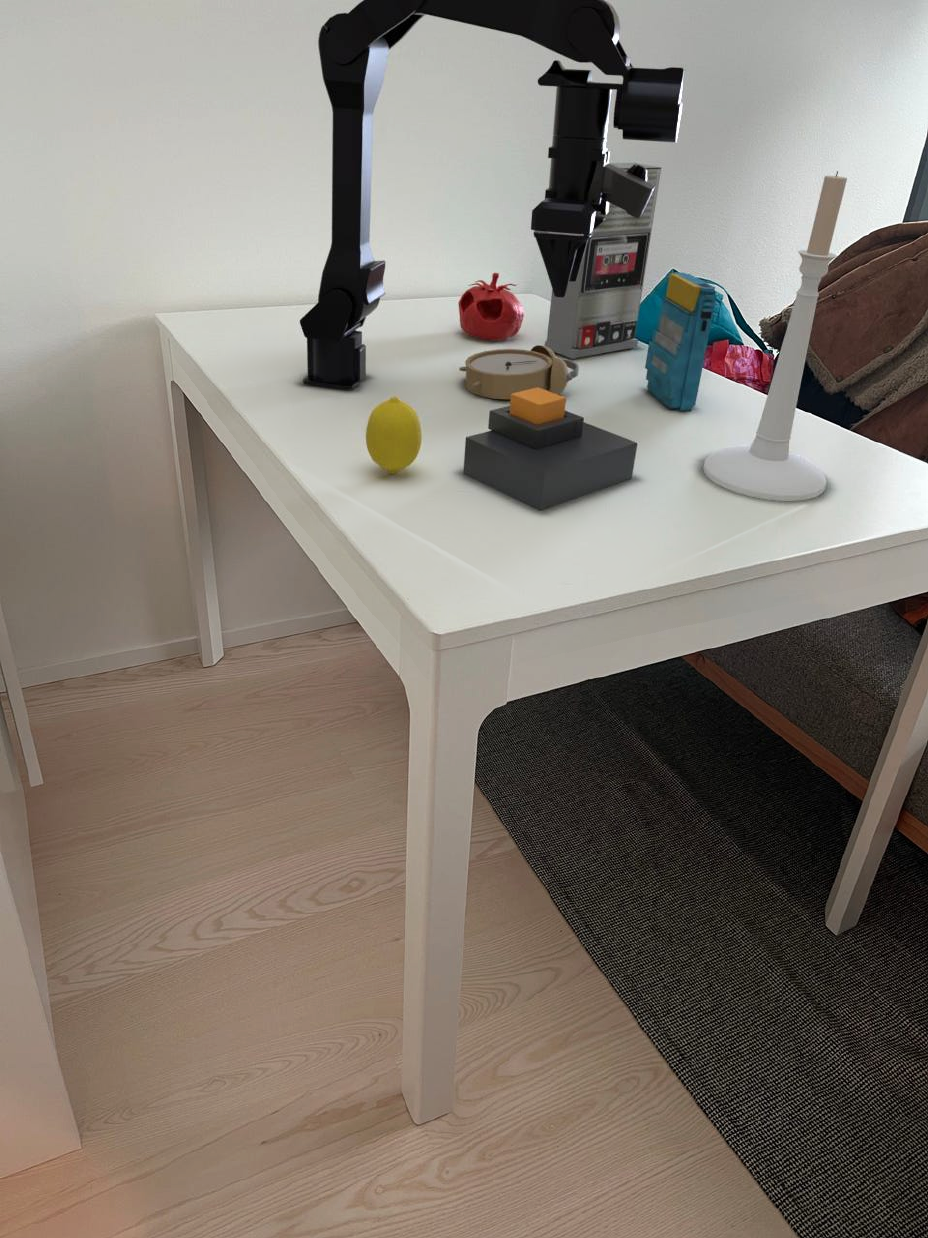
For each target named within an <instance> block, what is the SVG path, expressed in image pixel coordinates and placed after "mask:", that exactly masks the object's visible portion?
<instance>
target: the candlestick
mask: <svg viewBox="0 0 928 1238" xmlns="http://www.w3.org/2000/svg"><path fill="white" fill-rule="evenodd" d="M838 174H839V171H838V170H837V171H836V174H835V175H824V178H823V182H822V186H821V190H820V194H819V199H818V203H817V208H816V211H815V212H816V213H815V214H814V215H815V216H814V220H813V224H812V228H811V233H810V236H809V241H808V245H807V249H800V250H798V251H797V253H798V254H799V256H800V257H801V263H800V265H799V267H798V268H799V272H800V274H801V278H800V279H801V285H800V287H799V288H798V290H797V291H796V292H795V293H796V296H795V299H794V303H793V307H792V309H791V313H790V316H789V320H788V323H787V327H786V331H785V334H784V337H783V341H782V345H781V347H780V351H779V355H778V359H777V362H776V365H775V368H774V372H773V375H772V380H771V383H770V386H769V389H768V393H767V397H766V400H765V403H764V407H763V410H762V413H761V417H760V420H759V423H758V427H757V431H755V437H754V439H753V442H752V444H739V445H732V446H727V447H724V448H721V449H719V450H716V451H714V452H713V453H710V454H709V455H708V456H706V458H705V460H704V463H703V466H702V467H703V468H702V469H703V470H702V471H703V473H704V474H705V476H706V477H707V478H708V479H709V480H711V482H713V483H715V484H716V485H718V486H720V487H722V488H724V489H726V490H729V491H731V492H734V493H737V494H740V495H743V496H747V497H751V498H757V499H761V500H767V501H768V500H769V501H775V502H798V501H799V502H800V501H806V500H807V501H808V500H810V499H814V498H817V497H819V496H821V495H822V494H823V493H824V491H825V489H826V487H827V479H826V476H825V475H824V473H823V472H822V471H821V469H819V468H818V467H817V466H816V464H814V463H813V462H812V461H810V460H808V459H806V458H805V457H803V456H801V455H799V454H796V453H794V452H793V451H790V440H791V437H792V436H791V435H792V432H793V431H792V430H793V425H794V421H795V414H796V409H797V404H798V401H799V398H798V397H799V394H800V389H801V383H802V379H803V374H804V369H805V363H806V358H807V353H808V349H809V344H810V338H811V333H812V327H813V323H814V317H815V311H816V307H817V303H818V299H819V298H818V297H820V293H819V285H820V283H821V281H822V277H824V276H826V275H827V274H828V272H829V265H830V263H831V262H832V261H833V260H834V259H836V258H837V257H838V255H837V254H836V253H832V252H830V249H831V245H832V242H833V238H834V233H835V229H836V225H837V222H838V217H839V212H840V209H841V205H842V202H843V197H844V192H845V189H846V185H847V181H848V178H847V177H845V176H839V175H838Z"/></svg>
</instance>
